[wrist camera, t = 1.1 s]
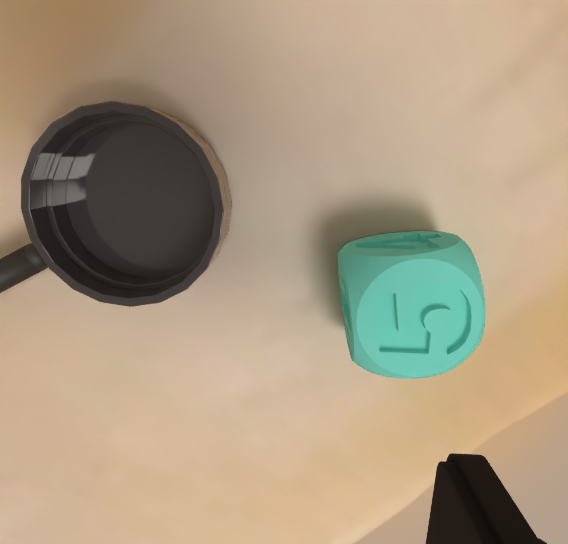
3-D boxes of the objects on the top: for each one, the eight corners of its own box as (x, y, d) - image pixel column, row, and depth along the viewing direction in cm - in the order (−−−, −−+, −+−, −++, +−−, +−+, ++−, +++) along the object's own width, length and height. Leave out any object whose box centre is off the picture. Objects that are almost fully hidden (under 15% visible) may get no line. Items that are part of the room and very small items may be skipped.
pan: (175, 75, 31) (156, 62, 26) (262, 241, 34) (258, 254, 29) (21, 163, 33) (-20, 164, 28) (117, 314, 35) (92, 336, 31)
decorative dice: (334, 239, 33) (346, 263, 26) (440, 226, 33) (485, 246, 25) (344, 336, 35) (358, 386, 28) (444, 325, 35) (487, 372, 27)
